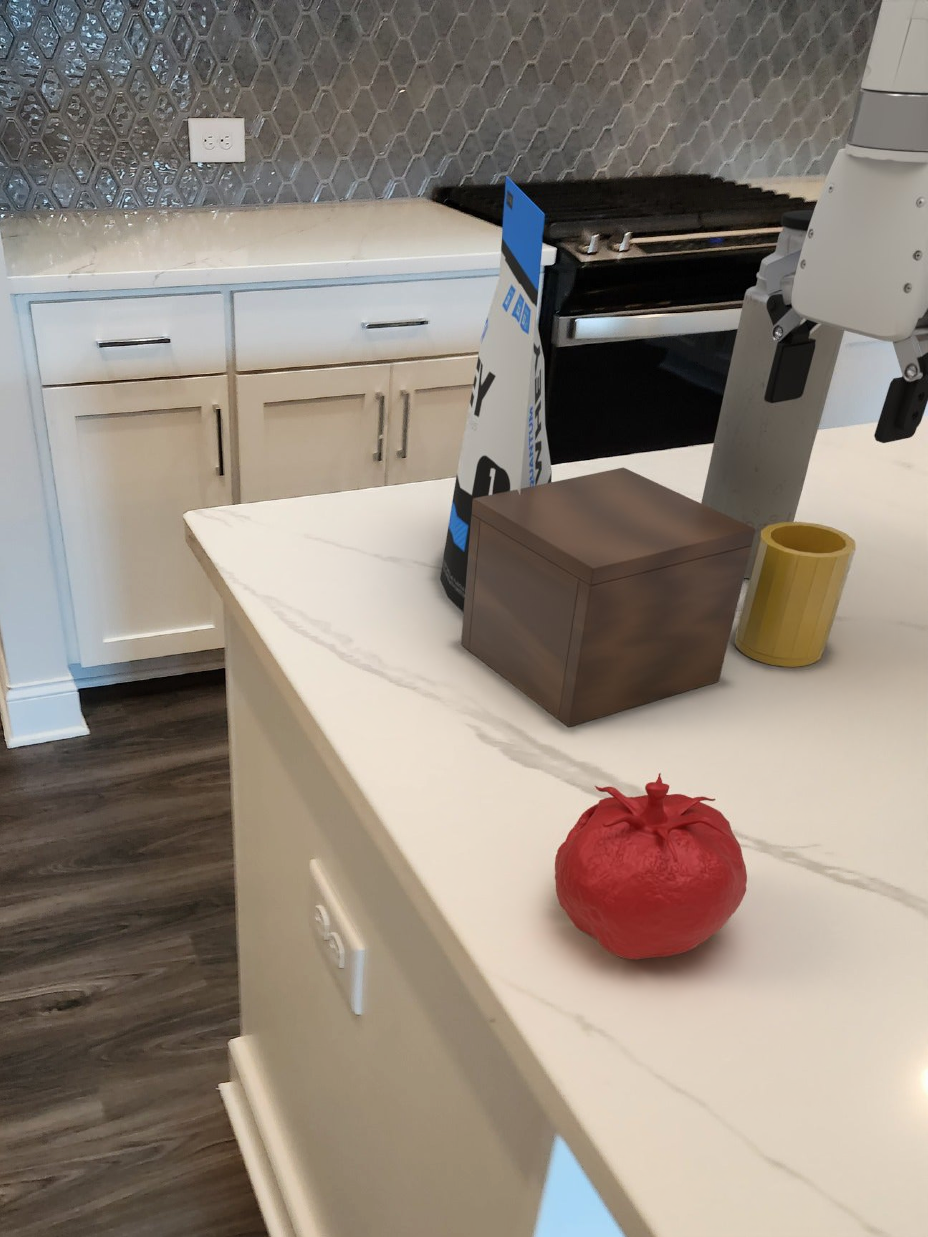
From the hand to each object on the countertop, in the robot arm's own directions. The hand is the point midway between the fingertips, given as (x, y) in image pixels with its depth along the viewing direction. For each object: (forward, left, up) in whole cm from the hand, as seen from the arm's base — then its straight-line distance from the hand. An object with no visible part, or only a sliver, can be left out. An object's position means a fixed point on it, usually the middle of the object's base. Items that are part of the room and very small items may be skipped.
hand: (835, 418), depth 76 cm
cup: (-1, 0, -18) cm, 18 cm away
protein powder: (+12, -21, -18) cm, 30 cm away
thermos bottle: (-10, -14, -18) cm, 25 cm away
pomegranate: (+30, +20, -18) cm, 41 cm away
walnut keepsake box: (+14, -5, -18) cm, 23 cm away
